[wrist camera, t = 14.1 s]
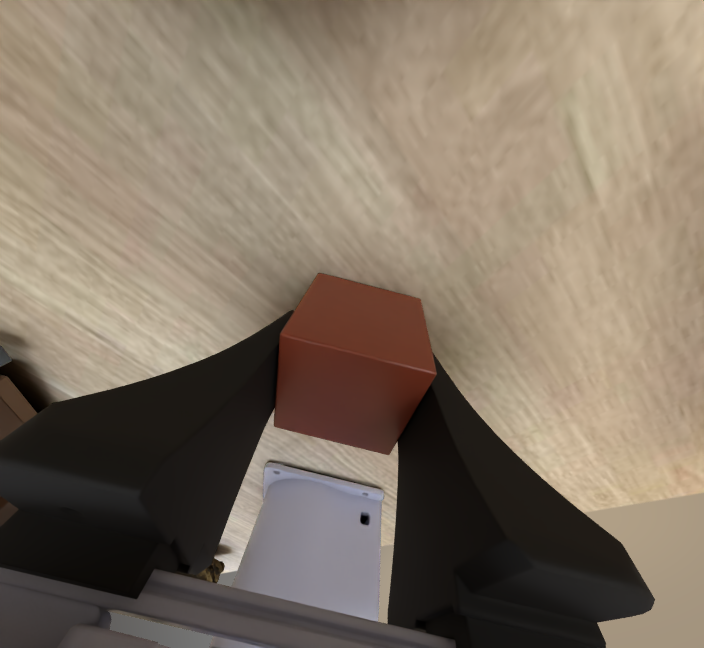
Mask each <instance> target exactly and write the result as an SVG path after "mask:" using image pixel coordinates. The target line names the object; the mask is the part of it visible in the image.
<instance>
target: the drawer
mask: <svg viewBox="0 0 704 648" xmlns="http://www.w3.org/2000/svg"><path fill="white" fill-rule="evenodd" d="M11 361H12V359H11V358H10V356H9V355H8V354H7V352H6V351H5V350H4V349H3V347H2V346H0V367H1V366H3V365H5V364H7V363H9V362H11ZM36 414H38V413H37V412H36V411H35V410H34V409H33V407H32V406H31V405H30V404H29V402H28V401H27V400H26V399H25V397H24V396H23V395H22V394H21V393H20V391H19V390H18V389H17V388H16V386H15V385H14V384H13V383H12V382H11V380H10V379H9V378H8V377H7V376H3V375H0V440H2V439H3V438H5V437H6V436H7V435H9V434H10V433H11V432H13V431H14V430H16V429H17V428H18V427H20V426H21V425H23V424H24V423H25V422H27V421H28V420H29V419H31V418H32V417H34V416H35V415H36Z"/></svg>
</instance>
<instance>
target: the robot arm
mask: <svg viewBox="0 0 704 648" xmlns="http://www.w3.org/2000/svg"><path fill="white" fill-rule="evenodd" d="M293 312H294V310H291V311H289V312H288V313H286V314H285V315H283V316H282V317H280V318H279V319H277V320H276V321H274V322H273V323H271V324H270V325H268V326H266V327H265V328H263V329H262V330H260V331H258V332H257V333H255V334H253V335H252V336H250V337H248V338H246V339H245V340H243V341H241V342H239V343H237V344H235V345H234V346H232V347H230V348H228V349H226V350H224V351H221V352H219V353H217V354H215V355H212V356H210V357H208V358H206V359H203V360H201V361H198V362H195V363H193V364H190V365H187V366H185V367H182V368H179V369H176V370H174V371H171V372H168V373H165V374H162V375H159V376H156V377H153V378H149V379H146V380H143V381H139V382H136V383H132V384H129V385H125V386H122V387H118V388H114V389H111V390H106V391H102V392H98V393H94V394H90V395H86V396H82V397H77V398H73V399H69V400H65V401H60V402H56V403H52V404H51V405H49V406H48V407H46V408H45V409H43V410H42V411H41V412H39V413H38V414H36V415H35V416H34V417H32V418H31V419H29V420H28V421H27V422H25V423H24V424H23V425H21V426H20V427H18V428H17V429H16V430H14V431H13V432H11V433H10V434H9V435H7V436H6V437H5V438H3V439H2V440H0V496H1V497H3V498H4V499H5V500H7V501H8V502H9V503H11V504H12V505H14V506H15V507H16V508H18V509H19V510H18V511H17V512H16V513H14V514H13V515H12V516H11V517H10V518H9V519H8V520H7V521H6V522H5V523H4V524H3V525H2V526H1V527H0V648H169V647H166V646H163V645H160V644H158V643H157V642H155V641H150V640H147V639H143V638H139V637H135V636H131V635H127V634H123V633H119V632H115V631H112V630H110V624H111V615H110V613H109V612H108V611H110V612H114V613H118V614H122V615H127V616H131V617H135V618H139V619H144V620H148V621H152V622H156V623H161V624H165V625H169V626H174V627H178V628H182V629H186V630H191V631H195V632H199V633H204V634H208V635H212V636H213V638H212V641H211V644H210V648H606V642H605V640H604V638H603V635H602V633H601V631H600V629H599V626H598V624H597V622H603V621H609V620H614V619H620V618H626V617H631V616H636V615H640V614H644V613H645V612H647V611H649V610H651V609H652V606H653V604H654V601H655V599H654V597H653V595H652V594H651V592H650V590H649V589H648V587H647V585H646V583H645V582H644V580H643V579H642V577H641V575H640V573H639V572H638V570H637V568H636V567H635V565H634V563H633V561H632V560H631V558H630V557H629V555H628V553H627V551H626V550H625V548H624V547H623V545H622V544H621V542H619V541H618V540H617V539H615V538H614V537H613V536H612V535H611V534H609V533H608V532H607V531H605V530H604V529H603V528H602V527H600V526H599V525H598V524H596V523H595V522H594V521H593V520H592V519H590V518H589V517H587V515H585V514H584V513H583V512H581V511H580V510H579V509H578V508H576V507H575V506H574V505H573V504H571V503H570V502H569V501H568V500H567V499H565V498H564V497H563V496H562V495H561V494H560V493H558V492H557V491H556V490H555V489H554V488H553V487H551V486H550V485H549V484H548V483H547V482H546V481H544V480H543V479H542V478H541V477H540V476H539V475H538V474H537V473H536V472H534V471H533V470H532V469H531V468H530V467H529V466H528V465H527V464H526V463H525V462H524V461H523V460H522V459H520V458H519V457H518V456H517V455H516V454H515V453H514V452H513V451H512V450H511V449H510V448H509V447H508V446H507V445H506V444H505V443H504V442H503V441H502V440H501V439H500V438H499V437H498V436H497V435H496V434H495V432H494V431H493V430H492V429H491V428H490V427H489V426H488V425H487V424H486V423H485V421H484V420H483V419H482V418H481V417H480V416H479V415H478V414H477V412H476V411H475V410H474V409H473V408H472V406H471V405H470V404H469V402H468V401H467V400H466V399H465V397H464V396H463V395H462V394H461V392H460V391H459V390H458V388H457V387H456V386H455V384H454V383H453V381H452V380H451V379H450V377H449V376H448V374H447V373H446V371H445V370H444V368H443V367H442V366H441V364H440V363H439V361H438V360H437V358H436V357H435V355H434V354H433V358H434V363H435V367H436V372H437V374H436V376H435V378H434V380H433V381H432V383H431V385H430V386H429V388H428V390H427V391H426V393H425V395H424V397H423V398H422V400H421V402H420V403H419V405H418V407H417V409H416V410H415V412H414V414H413V415H412V417H411V419H410V420H409V422H408V424H407V426H406V427H405V429H404V431H403V432H402V434H401V436H400V438H399V439H398V490H397V509H396V525H395V539H394V553H393V564H392V575H391V586H390V596H389V605H388V624H385V623H381V622H378V614H379V588H380V548H381V509H382V500H383V499H384V491H382V490H381V489H377V488H373V487H369V486H365V485H361V484H357V483H353V482H348V481H344V480H340V479H336V478H332V477H328V476H324V475H320V474H316V473H312V472H308V471H304V470H300V469H296V468H292V467H287V466H283V465H279V464H275V463H266V465H265V468H264V483H263V504H262V506H261V509H260V512H259V514H258V517H257V520H256V522H255V525H254V528H253V531H252V533H251V536H250V539H249V541H248V544H247V547H246V549H245V552H244V555H243V557H242V560H241V563H240V566H239V568H238V571H237V574H236V576H235V579H234V582H233V585H232V587H229V586H225V585H221V584H217V583H213V582H208V581H204V580H200V579H196V578H192V577H187V576H183V575H179V574H175V573H176V572H179V573H183V574H193V575H197V574H199V573H200V572H202V571H203V570H205V569H206V568H207V567H208V566H210V565H211V564H212V561H213V558H214V555H215V553H216V550H217V547H218V545H219V542H220V539H221V536H222V534H223V531H224V528H225V526H226V523H227V520H228V518H229V515H230V512H231V510H232V507H233V505H234V502H235V500H236V497H237V494H238V492H239V489H240V487H241V484H242V481H243V479H244V476H245V474H246V471H247V469H248V467H249V464H250V462H251V459H252V457H253V454H254V452H255V449H256V447H257V444H258V442H259V440H260V437H261V435H262V432H263V430H264V428H265V426H266V424H267V422H268V420H269V418H270V416H271V414H272V412H273V410H274V408H275V399H276V384H277V369H278V354H279V340H280V333H281V331H282V330H283V328H284V327H285V325H286V324H287V322H288V320H289V319H290V317H291V316H292V314H293ZM432 353H433V352H432Z"/></svg>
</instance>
